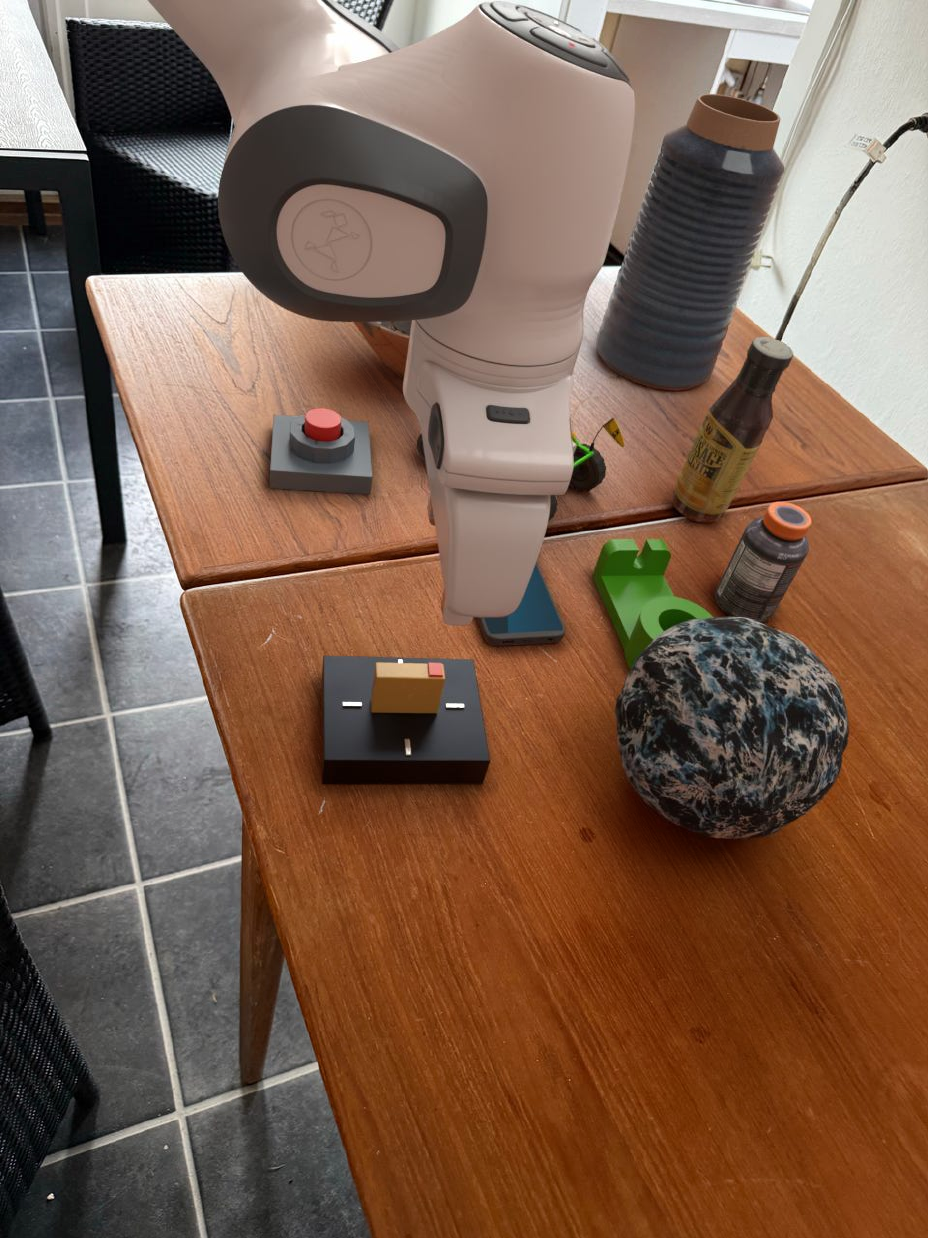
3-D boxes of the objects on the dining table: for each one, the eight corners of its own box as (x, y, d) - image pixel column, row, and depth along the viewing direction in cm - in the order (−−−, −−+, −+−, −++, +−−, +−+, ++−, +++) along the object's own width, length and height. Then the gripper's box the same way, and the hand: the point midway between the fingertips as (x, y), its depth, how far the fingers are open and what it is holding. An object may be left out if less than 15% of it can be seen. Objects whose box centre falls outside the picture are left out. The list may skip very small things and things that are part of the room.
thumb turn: (371, 713, 65) (376, 675, 62) (370, 697, 66) (375, 659, 63) (437, 713, 66) (446, 676, 63) (435, 698, 67) (444, 661, 64)
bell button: (304, 441, 87) (304, 426, 86) (304, 421, 90) (305, 406, 89) (340, 443, 88) (341, 429, 87) (340, 424, 90) (341, 409, 89)
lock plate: (321, 785, 64) (324, 759, 61) (321, 680, 71) (323, 653, 68) (483, 784, 66) (490, 759, 64) (467, 683, 73) (473, 657, 71)
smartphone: (485, 647, 76) (487, 639, 75) (448, 534, 86) (449, 527, 85) (566, 642, 78) (569, 635, 77) (521, 533, 88) (523, 526, 88)
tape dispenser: (714, 690, 77) (734, 654, 74) (640, 693, 75) (657, 656, 72) (655, 574, 87) (671, 539, 84) (589, 575, 86) (602, 539, 82)
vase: (586, 373, 115) (663, 106, 93) (601, 322, 127) (673, 74, 105) (707, 405, 114) (814, 144, 92) (711, 351, 126) (806, 108, 104)
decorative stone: (611, 871, 62) (682, 742, 52) (582, 697, 74) (635, 563, 64) (819, 882, 65) (928, 761, 54) (760, 712, 76) (839, 585, 66)
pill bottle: (752, 581, 89) (799, 491, 81) (783, 622, 85) (837, 532, 78) (702, 586, 87) (746, 495, 79) (732, 629, 83) (782, 537, 76)
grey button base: (269, 488, 87) (270, 454, 84) (273, 431, 94) (273, 399, 91) (370, 494, 89) (374, 462, 86) (366, 438, 96) (370, 407, 93)
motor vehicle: (477, 421, 102) (494, 337, 95) (615, 501, 95) (644, 417, 88) (412, 456, 95) (425, 368, 88) (556, 546, 88) (583, 458, 81)
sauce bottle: (659, 493, 98) (725, 326, 84) (706, 489, 100) (778, 326, 86) (686, 530, 94) (760, 361, 80) (735, 526, 96) (816, 361, 82)
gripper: (414, 281, 54) (389, 467, 63) (449, 481, 40) (410, 682, 49) (514, 293, 55) (474, 473, 65) (582, 491, 41) (519, 685, 50)
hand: (447, 565), depth 57 cm, fingers open, 8 cm apart
